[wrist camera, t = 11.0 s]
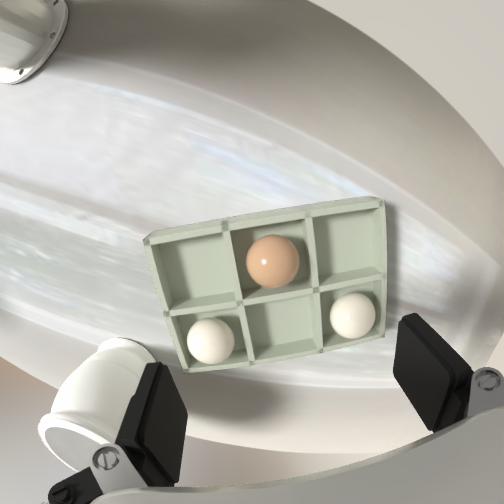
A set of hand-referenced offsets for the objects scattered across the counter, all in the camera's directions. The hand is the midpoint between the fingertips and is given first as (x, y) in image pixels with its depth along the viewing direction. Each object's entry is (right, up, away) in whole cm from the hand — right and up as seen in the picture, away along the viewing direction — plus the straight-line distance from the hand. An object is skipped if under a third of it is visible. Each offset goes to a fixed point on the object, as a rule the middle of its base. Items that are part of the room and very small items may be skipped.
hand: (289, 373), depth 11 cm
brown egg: (0, +4, +17) cm, 18 cm away
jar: (-17, -9, +22) cm, 29 cm away
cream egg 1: (-6, -3, +19) cm, 20 cm away
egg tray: (+1, +1, +19) cm, 19 cm away
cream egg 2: (+8, -1, +19) cm, 21 cm away
